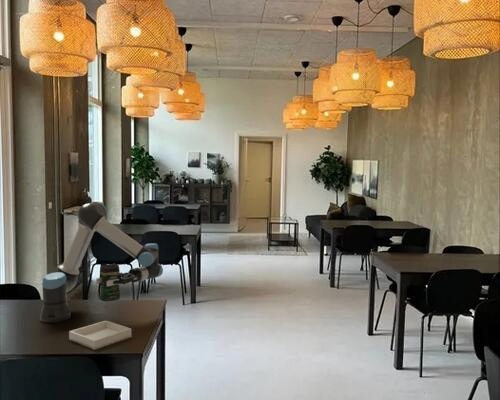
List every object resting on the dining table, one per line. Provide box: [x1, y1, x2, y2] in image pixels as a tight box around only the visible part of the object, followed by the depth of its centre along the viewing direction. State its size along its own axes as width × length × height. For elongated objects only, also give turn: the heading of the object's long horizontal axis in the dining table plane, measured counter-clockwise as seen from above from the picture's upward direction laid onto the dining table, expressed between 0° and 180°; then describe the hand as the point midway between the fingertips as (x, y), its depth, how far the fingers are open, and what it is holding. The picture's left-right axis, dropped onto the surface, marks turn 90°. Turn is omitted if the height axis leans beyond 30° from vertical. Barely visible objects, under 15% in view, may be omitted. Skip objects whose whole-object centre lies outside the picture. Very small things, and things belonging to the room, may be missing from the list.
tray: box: [68, 320, 133, 351], centre depth 219 cm, size 20×20×4 cm
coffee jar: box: [99, 263, 121, 303], centre depth 241 cm, size 10×8×19 cm
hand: (102, 282), depth 237 cm, fingers closed on coffee jar, 8 cm apart
